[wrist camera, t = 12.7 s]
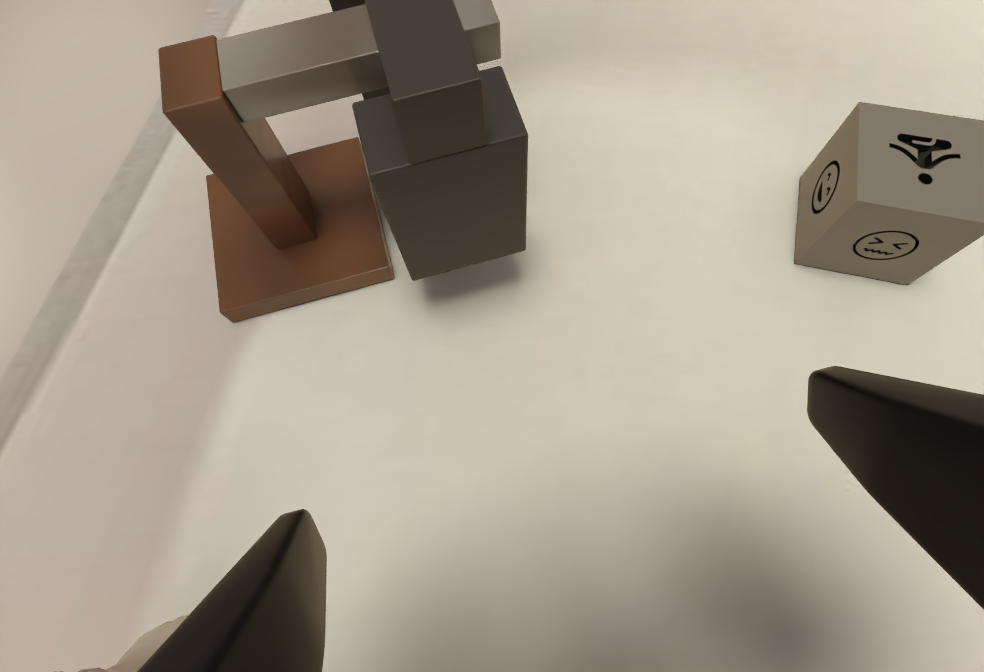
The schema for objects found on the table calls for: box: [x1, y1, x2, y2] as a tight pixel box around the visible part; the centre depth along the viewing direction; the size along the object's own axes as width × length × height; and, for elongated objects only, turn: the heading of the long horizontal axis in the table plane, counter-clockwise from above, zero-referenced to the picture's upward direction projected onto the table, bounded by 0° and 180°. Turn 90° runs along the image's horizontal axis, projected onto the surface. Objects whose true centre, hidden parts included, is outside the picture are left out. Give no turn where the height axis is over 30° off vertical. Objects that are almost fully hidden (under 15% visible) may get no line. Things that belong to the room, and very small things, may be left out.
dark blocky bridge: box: [329, 0, 528, 281], centre depth 20 cm, size 12×5×10 cm, turn 16°
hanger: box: [159, 0, 501, 322], centre depth 23 cm, size 14×8×10 cm, turn 106°
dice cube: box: [794, 102, 984, 285], centre depth 23 cm, size 5×5×5 cm
